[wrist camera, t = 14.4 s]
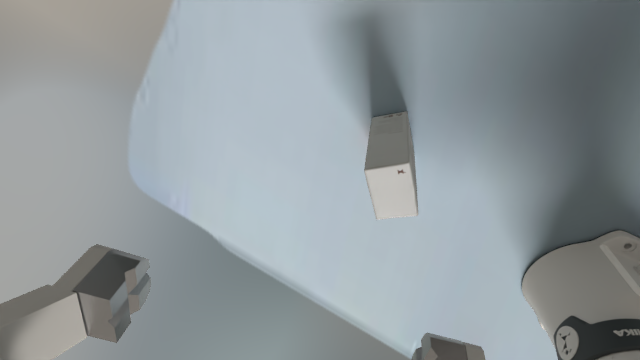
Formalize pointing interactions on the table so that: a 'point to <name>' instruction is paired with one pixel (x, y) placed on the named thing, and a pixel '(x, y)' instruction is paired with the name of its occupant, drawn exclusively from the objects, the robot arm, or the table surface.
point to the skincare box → (391, 167)
